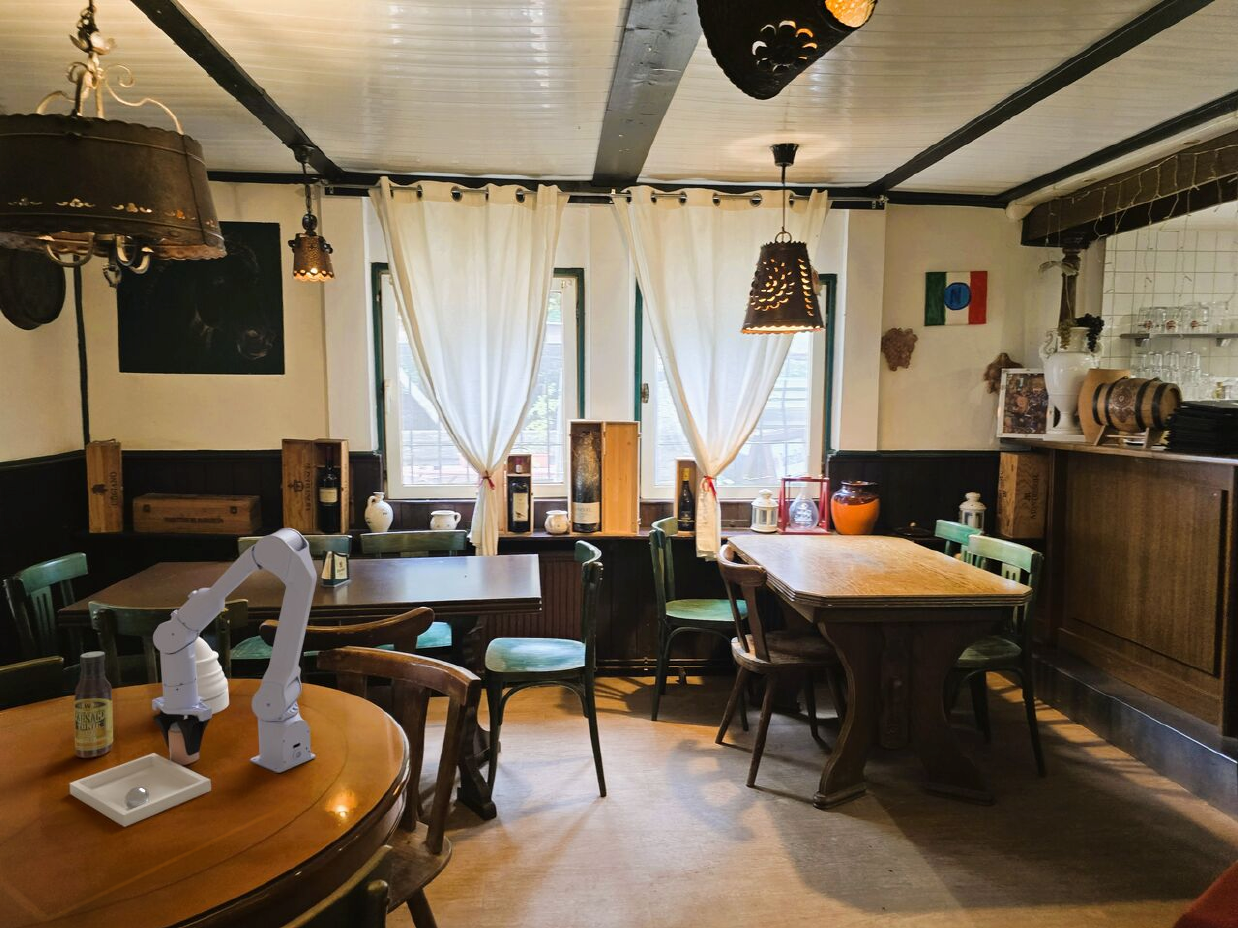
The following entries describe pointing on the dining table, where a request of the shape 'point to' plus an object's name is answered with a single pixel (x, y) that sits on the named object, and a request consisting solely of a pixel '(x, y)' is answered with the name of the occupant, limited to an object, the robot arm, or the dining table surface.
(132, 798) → the mixing ball
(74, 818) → the dining table surface
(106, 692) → the sauce bottle
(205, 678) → the honey pot
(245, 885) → the dining table surface
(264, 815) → the dining table surface
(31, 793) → the dining table surface
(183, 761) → the shaker
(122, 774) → the dish
